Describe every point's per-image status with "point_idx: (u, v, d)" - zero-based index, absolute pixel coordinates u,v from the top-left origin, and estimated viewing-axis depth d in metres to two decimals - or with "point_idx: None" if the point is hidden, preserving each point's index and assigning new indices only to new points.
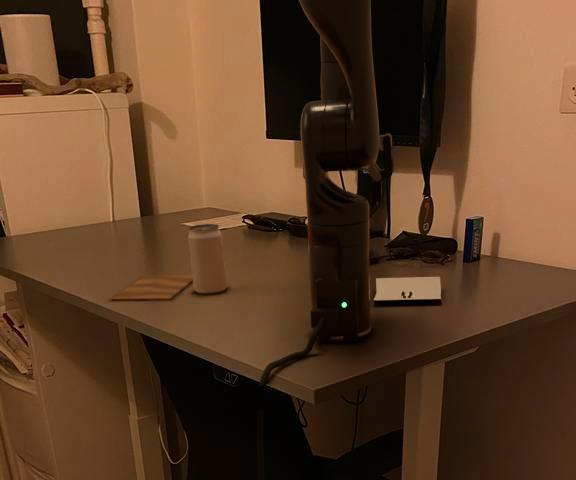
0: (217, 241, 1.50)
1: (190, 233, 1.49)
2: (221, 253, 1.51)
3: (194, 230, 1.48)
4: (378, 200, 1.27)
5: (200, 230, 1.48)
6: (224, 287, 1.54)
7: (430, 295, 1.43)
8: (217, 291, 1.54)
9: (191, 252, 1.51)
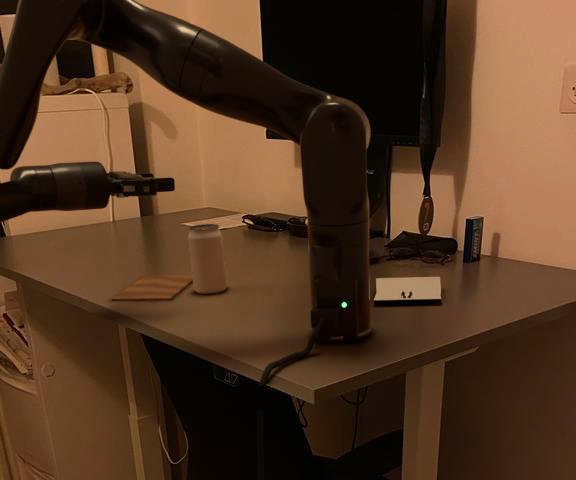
0: (217, 241, 1.50)
1: (190, 233, 1.49)
2: (221, 253, 1.51)
3: (194, 230, 1.48)
4: None
5: (200, 230, 1.48)
6: (224, 287, 1.54)
7: (430, 295, 1.43)
8: (217, 291, 1.54)
9: (191, 252, 1.51)
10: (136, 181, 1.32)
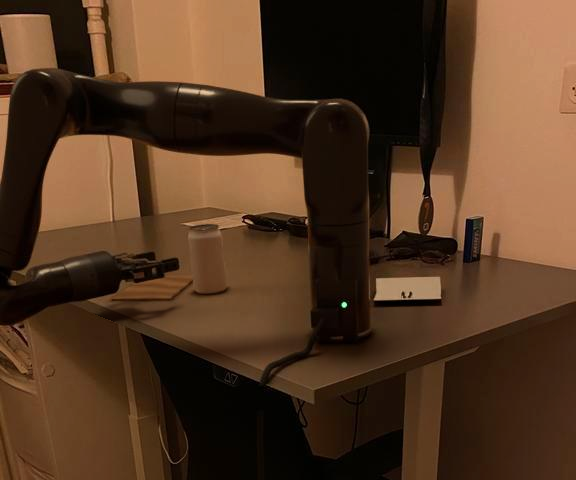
0: (217, 241, 1.50)
1: (190, 233, 1.49)
2: (221, 253, 1.51)
3: (194, 230, 1.48)
4: None
5: (200, 230, 1.48)
6: (224, 287, 1.54)
7: (430, 295, 1.43)
8: (217, 291, 1.54)
9: (191, 252, 1.51)
10: (145, 267, 1.38)
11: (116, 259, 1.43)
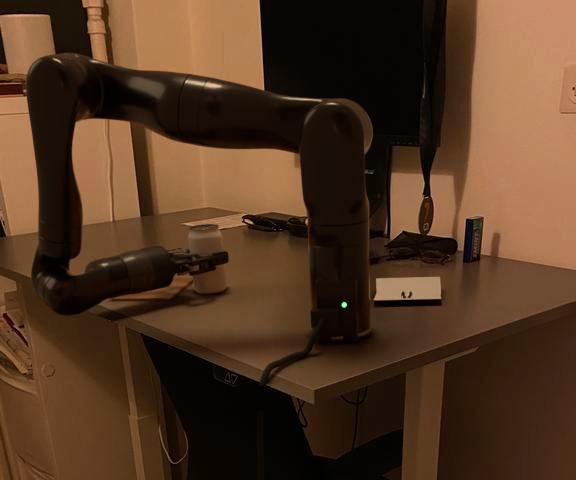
0: (217, 241, 1.50)
1: (190, 233, 1.49)
2: None
3: (194, 230, 1.48)
4: None
5: (200, 230, 1.48)
6: (224, 287, 1.54)
7: (430, 295, 1.43)
8: (217, 291, 1.54)
9: (191, 252, 1.51)
10: (200, 260, 1.45)
11: (169, 254, 1.49)
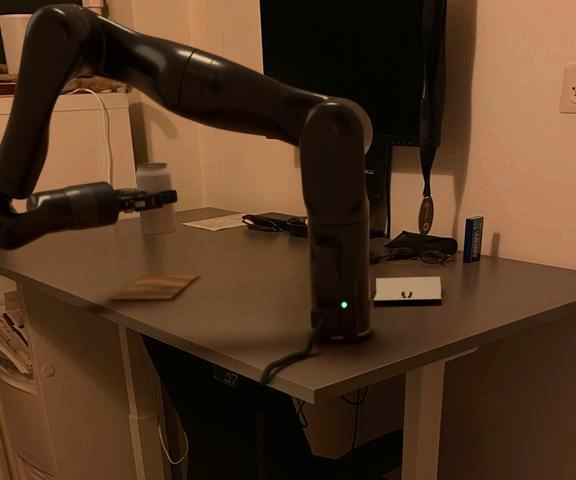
0: (165, 179, 1.46)
1: (138, 170, 1.46)
2: None
3: (141, 167, 1.45)
4: None
5: (147, 167, 1.45)
6: (173, 228, 1.51)
7: (430, 295, 1.43)
8: (166, 232, 1.50)
9: None
10: (146, 196, 1.42)
11: (115, 191, 1.46)
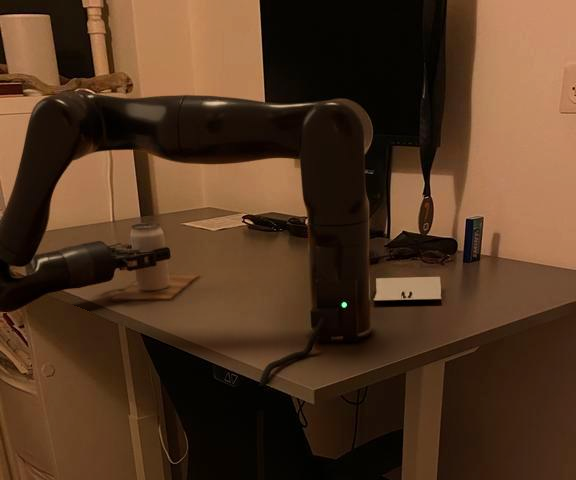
0: (158, 239, 1.53)
1: (132, 231, 1.52)
2: None
3: (135, 228, 1.51)
4: None
5: (141, 228, 1.51)
6: (167, 284, 1.57)
7: (430, 295, 1.43)
8: (160, 288, 1.57)
9: None
10: (138, 256, 1.47)
11: (111, 249, 1.52)
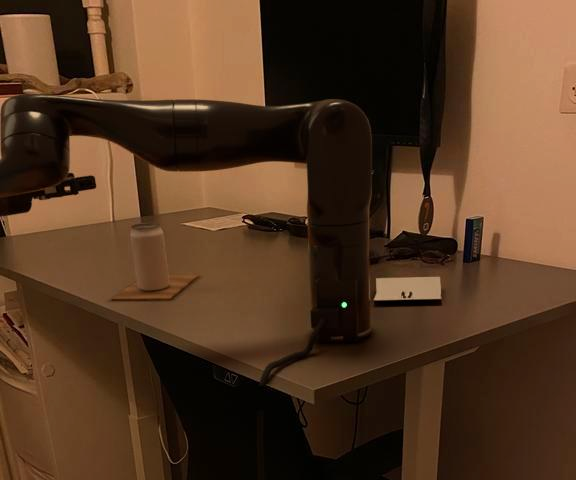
0: (158, 239, 1.53)
1: (132, 231, 1.52)
2: (163, 251, 1.54)
3: (135, 228, 1.51)
4: (67, 175, 1.45)
5: (141, 228, 1.51)
6: (167, 284, 1.57)
7: (430, 295, 1.43)
8: (160, 288, 1.57)
9: (133, 250, 1.54)
10: None
11: None
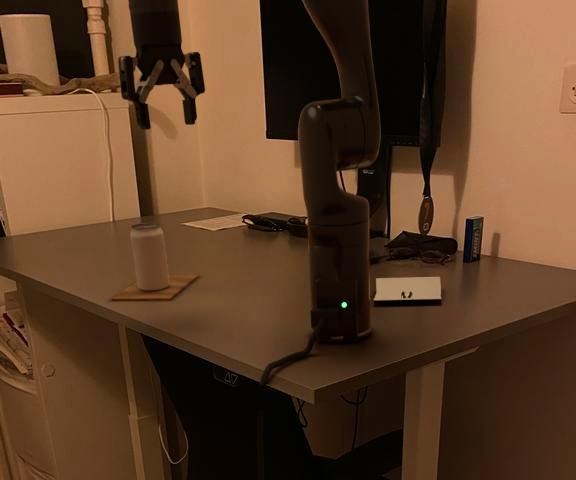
0: (158, 239, 1.53)
1: (132, 231, 1.52)
2: (163, 251, 1.54)
3: (135, 228, 1.51)
4: (194, 118, 1.32)
5: (141, 228, 1.51)
6: (167, 284, 1.57)
7: (430, 295, 1.43)
8: (160, 288, 1.57)
9: (133, 250, 1.54)
10: (126, 72, 1.22)
11: (171, 59, 1.25)
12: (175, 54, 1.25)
